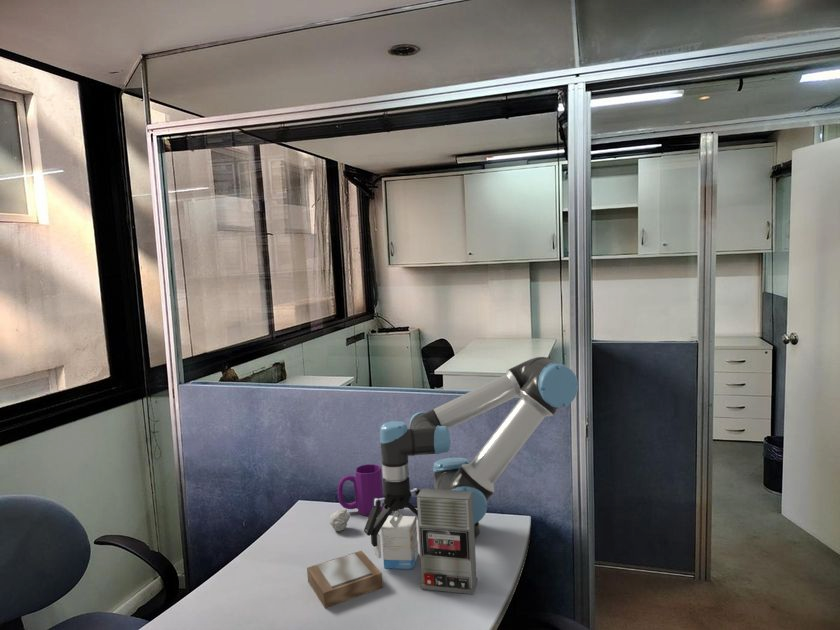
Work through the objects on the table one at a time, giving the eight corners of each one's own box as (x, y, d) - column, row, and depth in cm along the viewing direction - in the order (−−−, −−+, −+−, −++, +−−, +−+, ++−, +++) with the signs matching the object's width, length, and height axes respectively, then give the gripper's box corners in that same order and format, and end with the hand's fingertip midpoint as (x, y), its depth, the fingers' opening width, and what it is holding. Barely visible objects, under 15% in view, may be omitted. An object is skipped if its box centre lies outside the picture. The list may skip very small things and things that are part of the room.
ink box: (412, 570, 156) (409, 523, 155) (383, 568, 158) (380, 522, 156) (418, 554, 164) (416, 510, 163) (391, 552, 166) (388, 509, 165)
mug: (384, 515, 191) (381, 472, 189) (338, 519, 190) (334, 476, 188) (384, 503, 200) (381, 463, 198) (340, 507, 199) (337, 466, 197)
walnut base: (362, 563, 161) (361, 549, 160) (382, 587, 148) (381, 571, 148) (308, 581, 153) (306, 566, 153) (324, 608, 141) (323, 591, 140)
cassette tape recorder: (420, 590, 146) (415, 497, 144) (426, 577, 152) (421, 488, 149) (473, 595, 142) (468, 500, 140) (477, 582, 148) (472, 490, 146)
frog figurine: (347, 535, 178) (345, 514, 177) (326, 534, 180) (325, 513, 179) (354, 526, 184) (352, 506, 183) (334, 525, 186) (332, 504, 185)
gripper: (428, 463, 168) (431, 532, 170) (349, 482, 156) (354, 555, 158) (440, 471, 161) (444, 542, 163) (359, 492, 149) (364, 568, 151)
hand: (399, 549), depth 161 cm, fingers open, 13 cm apart
